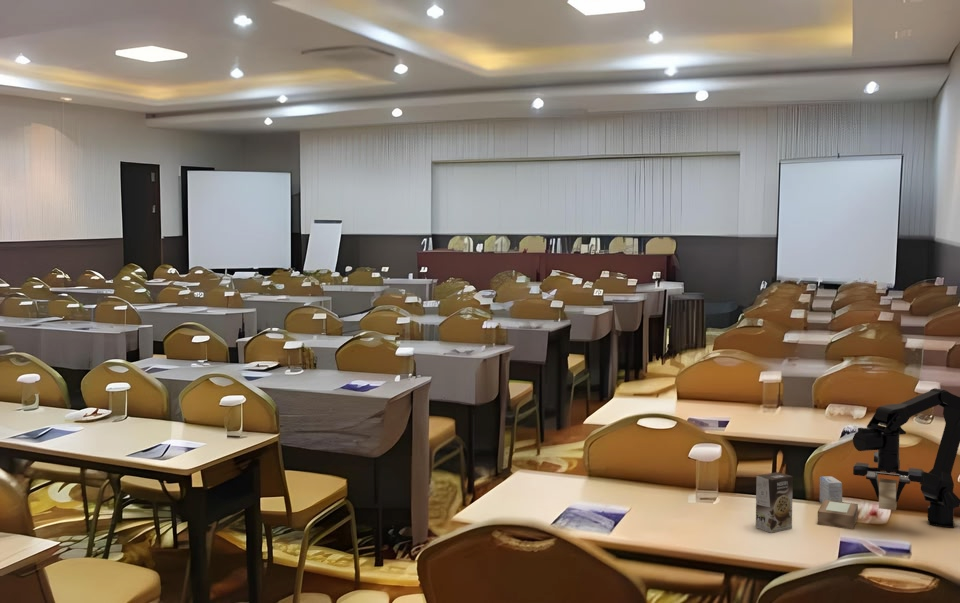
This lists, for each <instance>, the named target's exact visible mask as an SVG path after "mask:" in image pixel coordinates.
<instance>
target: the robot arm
mask: <svg viewBox="0 0 960 603" xmlns="http://www.w3.org/2000/svg"><path fill="white" fill-rule="evenodd" d="M937 406H940V407H941V408H943V410H942V411H943V412H942V416H943V419H944V429H943V433H942V435H941V438H940V443H939V446H938V449H937V454H936V455H935V456H936V457H935V460H934V464H933V467H932V469H930V471H928V472H927V471H924V470H923V469H922V468H913V467H908V470H903V469H900V468H901V467H900V466H901V459H900V435H906V434H907V432H906V431H905V430H904V429H903V428H902V426H903V425H905V424H907V423H908V422H909V420H910V418H912V417H914V416H915V415H919V414H920V413H923V412H925V411H928V410H929V409H932V408H935V407H937ZM852 444H853V446H854V448H855V449H856V451H858V452H866V451H870V452H871V451H874V452H873V453H874V454H873V463H874V464H875V463H876V464H877V467H873V466H872V467H871V466H870V464H869V463H865V462H855V463H854V465H853V468H852V469H853V473H852V475H853V476H861V477H865V479H866V480H869V481H870V483H871V484H870V485H871V486H872V487H873V490H874V492H875V495H876V498H877V500H878V501H879V475H882V476H883V475H884V476H893V477H899V478H898V482H897V494H896V502H897V503H898V502H899V499H900V496H901V493H902V491H903V490H904V488H905V486H906V485H909V484H910V483H911V482H912V483H913V482H914V483H919V485H920V491H921V493H922V494H923V497H924V500H925V501H926V502H929V505H928V506H927V521H928V523H929V524H928V525H931V526H937V527H946V528H954V527H955V520H954V514H955V512H954V511H955V510H954V509H956V508H959V507H960V498H959V497H958V496H957V494H956V493H955V492H954V487H955V486H954V485H955V483H954V480H953V477H952V472H953V468H954V465H955V462H956V458H957V455H958V451H959V447H960V396H958V395H956V394H953V393H951V392H949V391H948V390H946V389H941V388H936V387H935V388H932V389H930V390H929V391H926V392H924V393H922V394H919V395H917V396H915V397H912V398H910V399H908V400H905V401H903V402H901V403H899V402H898V403H891V404H884V405H880V406H878V407H877V408H876V409H875V413H874V414H873V416H872V418H871V419H870V420H869V422H868V423H867V425H866V427H858V428H857V432H855V433H854V435H853V437H852Z"/></svg>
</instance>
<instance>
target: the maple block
mask: <svg viewBox="0 0 960 603" xmlns="http://www.w3.org/2000/svg"><path fill="white" fill-rule="evenodd" d="M878 483H879V500H878V509H882V510H890V511H896V510H897V503H898V502H896V494H897V488H898V480H897V479H887V478H880V479H879V480H878Z"/></svg>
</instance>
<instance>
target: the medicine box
mask: <svg viewBox="0 0 960 603" xmlns="http://www.w3.org/2000/svg"><path fill="white" fill-rule="evenodd" d="M823 500H831V501H839V502H843V483H842V482H841V481H840V480H838V479H837V478H835V477H834V476H831V475H830V476H825V475H824V476H820V477H819V502H820V503H821V504H822V502H823Z"/></svg>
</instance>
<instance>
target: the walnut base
mask: <svg viewBox="0 0 960 603" xmlns="http://www.w3.org/2000/svg"><path fill="white" fill-rule="evenodd" d="M858 512H859V503H854V502H845V501H842V502H839V501H831V500H823V502H822V503H821V504H820V505H819V508H818V510H817V525H821V526H829V527H835V528H842V529H843V528H844V529H850V530H854V528H855V525H856V522H857V520H856V518H857V519H858V517H857V514H858V515H859V513H858Z"/></svg>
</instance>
